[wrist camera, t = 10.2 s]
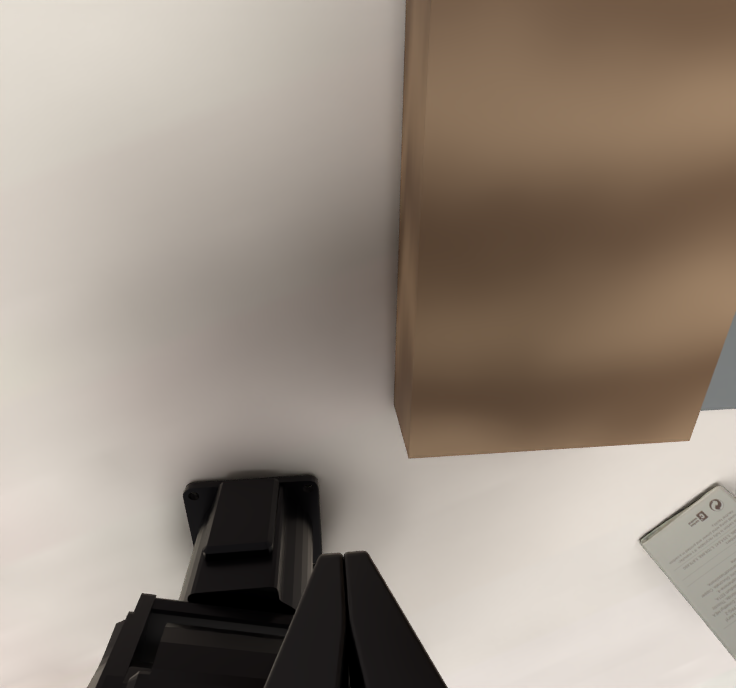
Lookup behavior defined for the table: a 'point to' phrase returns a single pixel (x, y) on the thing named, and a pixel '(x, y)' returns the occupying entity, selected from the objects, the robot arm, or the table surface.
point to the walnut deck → (563, 221)
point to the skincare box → (702, 560)
